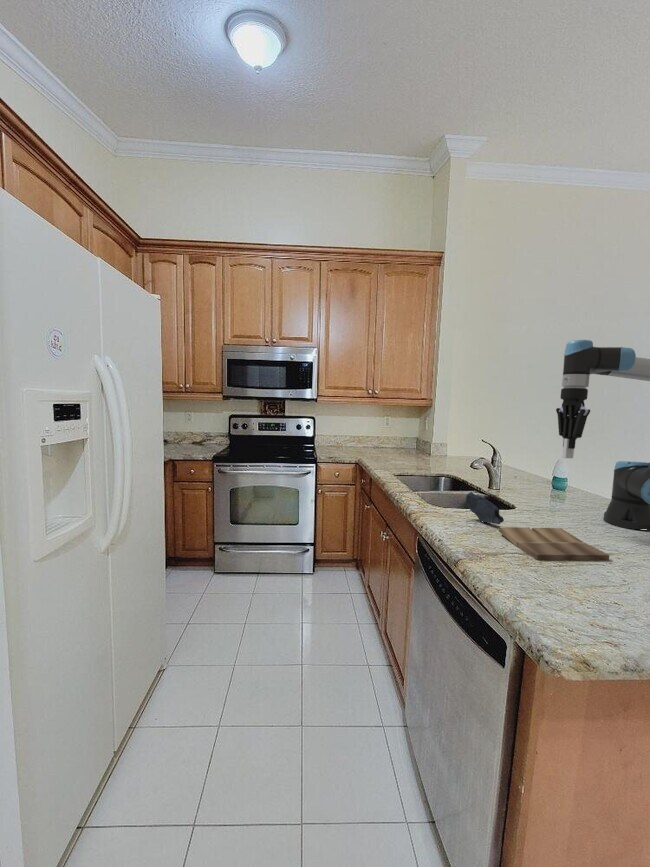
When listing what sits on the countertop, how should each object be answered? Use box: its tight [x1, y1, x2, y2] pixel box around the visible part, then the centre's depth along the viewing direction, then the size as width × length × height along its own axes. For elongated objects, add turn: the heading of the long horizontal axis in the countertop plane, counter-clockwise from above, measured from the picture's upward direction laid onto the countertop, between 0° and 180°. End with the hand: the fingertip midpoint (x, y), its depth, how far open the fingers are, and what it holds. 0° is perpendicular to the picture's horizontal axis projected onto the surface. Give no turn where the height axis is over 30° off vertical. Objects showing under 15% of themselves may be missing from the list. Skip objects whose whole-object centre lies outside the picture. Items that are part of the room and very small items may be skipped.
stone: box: [465, 491, 505, 525], centre depth 133 cm, size 14×6×10 cm, turn 50°
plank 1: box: [498, 526, 548, 548], centre depth 118 cm, size 10×10×2 cm
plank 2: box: [531, 527, 584, 542], centre depth 119 cm, size 10×10×2 cm
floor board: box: [517, 541, 610, 561], centre depth 108 cm, size 21×9×2 cm, turn 95°
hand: (567, 457), depth 129 cm, fingers closed
